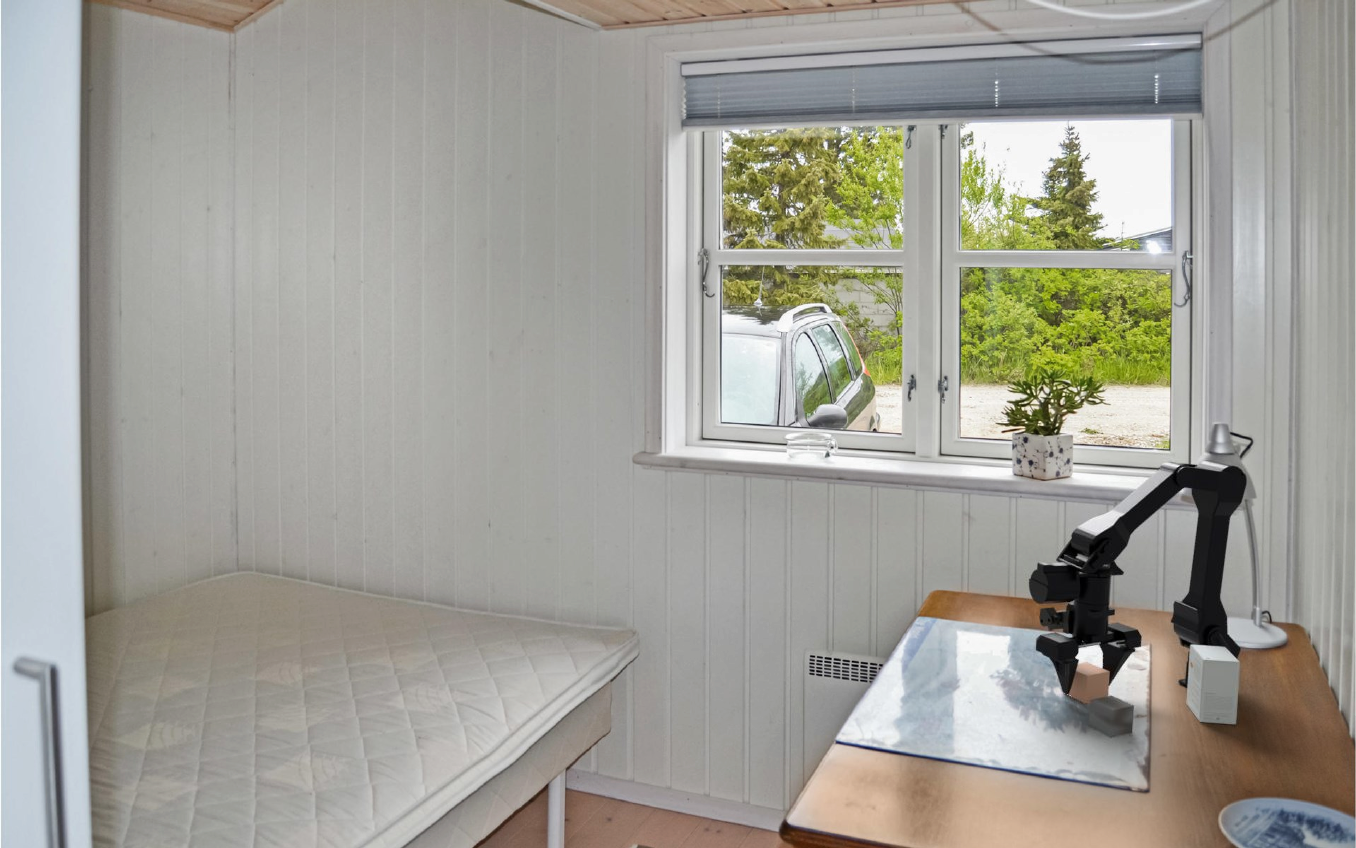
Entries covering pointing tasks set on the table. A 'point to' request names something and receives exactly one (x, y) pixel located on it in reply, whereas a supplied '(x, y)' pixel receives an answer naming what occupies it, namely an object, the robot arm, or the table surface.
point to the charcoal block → (1111, 716)
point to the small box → (1213, 684)
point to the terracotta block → (1089, 683)
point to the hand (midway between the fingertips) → (1086, 689)
